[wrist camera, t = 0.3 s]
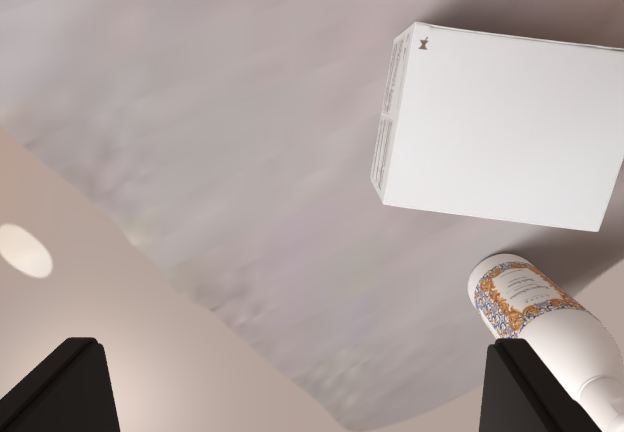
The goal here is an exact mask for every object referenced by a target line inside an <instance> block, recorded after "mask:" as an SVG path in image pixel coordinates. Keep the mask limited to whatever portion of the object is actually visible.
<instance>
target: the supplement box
mask: <svg viewBox="0 0 624 432" xmlns="http://www.w3.org/2000/svg"><path fill="white" fill-rule="evenodd" d="M623 159H624V48H615V47H606V46H597V45H590V44H580V43H570V42H561V41H553V40H545V39H537V38H529V37H521V36H512V35H504V34H496V33H488V32H480V31H473V30H465V29H458V28H450V27H444V26H438V25H432V24H427V23H422V22H417V21H416V22H415V23H413V24H412V25H411V26H410V27H408V28H407V29H406V30H405V31H403V32H402V33H401V34H400V35H399V36H397V37H396V38H395V39H394V43H393V49H392V55H391V61H390V67H389V73H388V78H387V84H386V90H385V95H384V101H383V107H382V112H381V118H380V124H379V130H378V136H377V142H376V147H375V153H374V159H373V164H372V170H371V177H370V179H371V181H372V183H373V185H374V187H375V189H376V191H377V193H378V195H379V197H380V198H381V200H382V202H383V204H385V205H391V206H397V207H404V208H412V209H419V210H427V211H435V212H443V213H450V214H458V215H466V216H473V217H481V218H489V219H497V220H505V221H513V222H521V223H528V224H536V225H544V226H552V227H559V228H567V229H575V230H584V231H594V232H598V231H599V229H600V226H601V223H602V221H603V218H604V215H605V212H606V209H607V206H608V204H609V200H610V197H611V195H612V192H613V189H614V186H615V183H616V180H617V177H618V174H619V171H620V168H621V165H622V162H623Z"/></svg>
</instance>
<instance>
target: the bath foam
mask: <svg viewBox="0 0 624 432" xmlns="http://www.w3.org/2000/svg"><path fill="white" fill-rule="evenodd" d="M468 293H469V297H470V299H471V302H472V303H473V305H474V306H475V308H476V309H477V311H478V313H479V314H480V316H481V317H482V319H483V320H484V321H485V323H486V324H487V326H488V327H489V329H490V330H491V332H492V333H493V335H494V336H495V338H496V339H498V338H523V339H525V340H526V341H527V342H528V343H529V344H530V346H531V347H532V348H533V349H534V351H535V352H536V353H537V355H538V356H539V357H540V358H541V360H542V361H543V362H544V363H545V365H546V366H547V367H548V368H549V370H550V371H551V372H552V373H553V375H554V376H555V377H556V379H557V380H558V381H559V382H560V384H561V385H562V386H563V387H564V389H565V390H566V391H567V392H568V394H569V395H570V396H571V398H572V399H574V400H576V401H577V402H578V403H579V404H580V405H581V406H582V407H583V408H584V409H585V411H586V412H587V413H588V414H589V416H590V417H591V418H592V419H593V421H594V422H595V423H596V424H597V426H598V427H599V428H600V429H601V431H602V432H624V366H623V360H622V356H621V353H620V350H619V348H618V346H617V344H616V342H615V340H614V338H613V337H612V335H611V334H610V333H609V331H608V330H607V329H606V328H605V327H604V325H603V324H602V323H601V322H600V321H599V320H598V319H597V318H596V317H595V316H593V315H592V314H591V313H590V312H589V311H587V310H586V309H585V308H584V307H583V306H581V305H580V304H579V303H578V302H577V301H575V300H574V299H573V298H572V297H571V296H570V295H568V294H567V293H566V292H565V291H564V290H562V289H561V288H560V287H559V286H558V285H556V284H555V283H554V282H553V281H552V280H550V279H549V278H548V277H547V276H546V275H544V274H543V273H542V272H541V271H540V270H538V269H537V268H536V267H535V266H533V265H532V264H531V263H530V262H528V261H527V260H526V259H524V258H522V257H520V256H517V255H513V254H498V255H494V256H491V257H489V258H487V259H485V260H483V261H482V262H481V263H480V264H478V265H477V266H476V268H475V269H474V270H473V272H472V273H471V275H470V278H469V281H468Z"/></svg>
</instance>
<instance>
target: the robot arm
mask: <svg viewBox="0 0 624 432" xmlns="http://www.w3.org/2000/svg"><path fill="white" fill-rule="evenodd" d="M0 432H120V428H119V422H118V417H117V412H116V407H115V401H114V397H113V391H112V387H111V381H110V377H109V371H108V366H107V361H106V356H105V351H104V347H103V345H102V344H98V342H97V340H96V339H95V338H90V337H88V338H87V337H83V338H82V337H76V338H75V337H71V338H68V339H66V340H65V341H64V342H63V343H62V344H61V345H59V346H58V347H57V348H56V349H55V350H54V351H53V352H52V353H51V354H50V355H48V356H47V357H46V358H45V359H44V360H43V361H42V362H41V363H40V364H39V365H38V366H36V368H34V369H33V370H32V371H31V372H30V373H29V374H28V375H27V376H26V377H25V378H23V379H22V380H21V381H20V382H19V383H18V384H17V385H16V386H15V387H14V388H13V389H11V391H9V392H8V394H6V395H5V396H4V397H3V398H2V399H1V400H0ZM479 432H602V431H601V429H600V428H599V427H598V426H597V424H596V423H595V422H594V421H593V419H592V418H591V417H590V416H589V414H588V413H587V412H586V411H585V409H584V408H583V407H582V406H581V405H580V404H579V403H578V402H577V401H576V400H574V399H572V398H571V396H570V395H569V394H568V392H567V391H566V390H565V389H564V387H563V386H562V385H561V384H560V382H559V381H558V380H557V379H556V377H555V376H554V375H553V373H552V372H551V371H550V370H549V368H548V367H547V366H546V365H545V363H544V362H543V361H542V360H541V358H540V357H539V356H538V355H537V353H536V352H535V351H534V349H533V348H532V347H531V346H530V344H529V343H528V342H527V341H526V340H525V339H523V338H498V339H497V340H496V342H495V344H490V345H489V346H488V350H487V359H486V368H485V378H484V387H483V397H482V406H481V416H480V425H479Z"/></svg>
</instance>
